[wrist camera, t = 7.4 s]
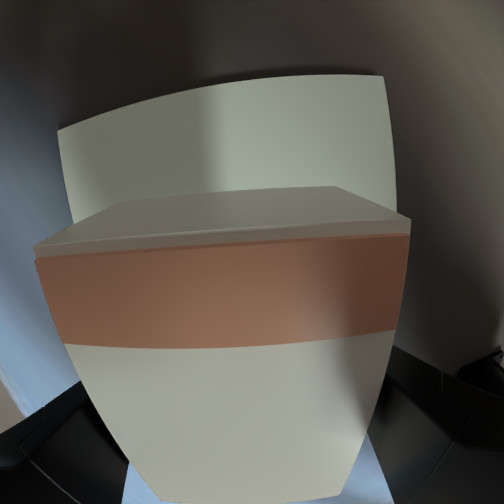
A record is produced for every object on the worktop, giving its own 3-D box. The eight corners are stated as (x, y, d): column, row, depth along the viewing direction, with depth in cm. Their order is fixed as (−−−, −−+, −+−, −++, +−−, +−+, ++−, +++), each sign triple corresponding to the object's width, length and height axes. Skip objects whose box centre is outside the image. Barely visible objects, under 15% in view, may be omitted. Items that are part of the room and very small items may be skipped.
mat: (378, 78, 13) (383, 76, 12) (383, 354, 19) (386, 359, 18) (62, 131, 13) (57, 131, 13) (138, 384, 19) (136, 390, 19)
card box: (320, 414, 11) (340, 498, 7) (175, 421, 11) (159, 504, 7) (335, 185, 8) (416, 221, 4) (119, 202, 8) (27, 249, 4)
